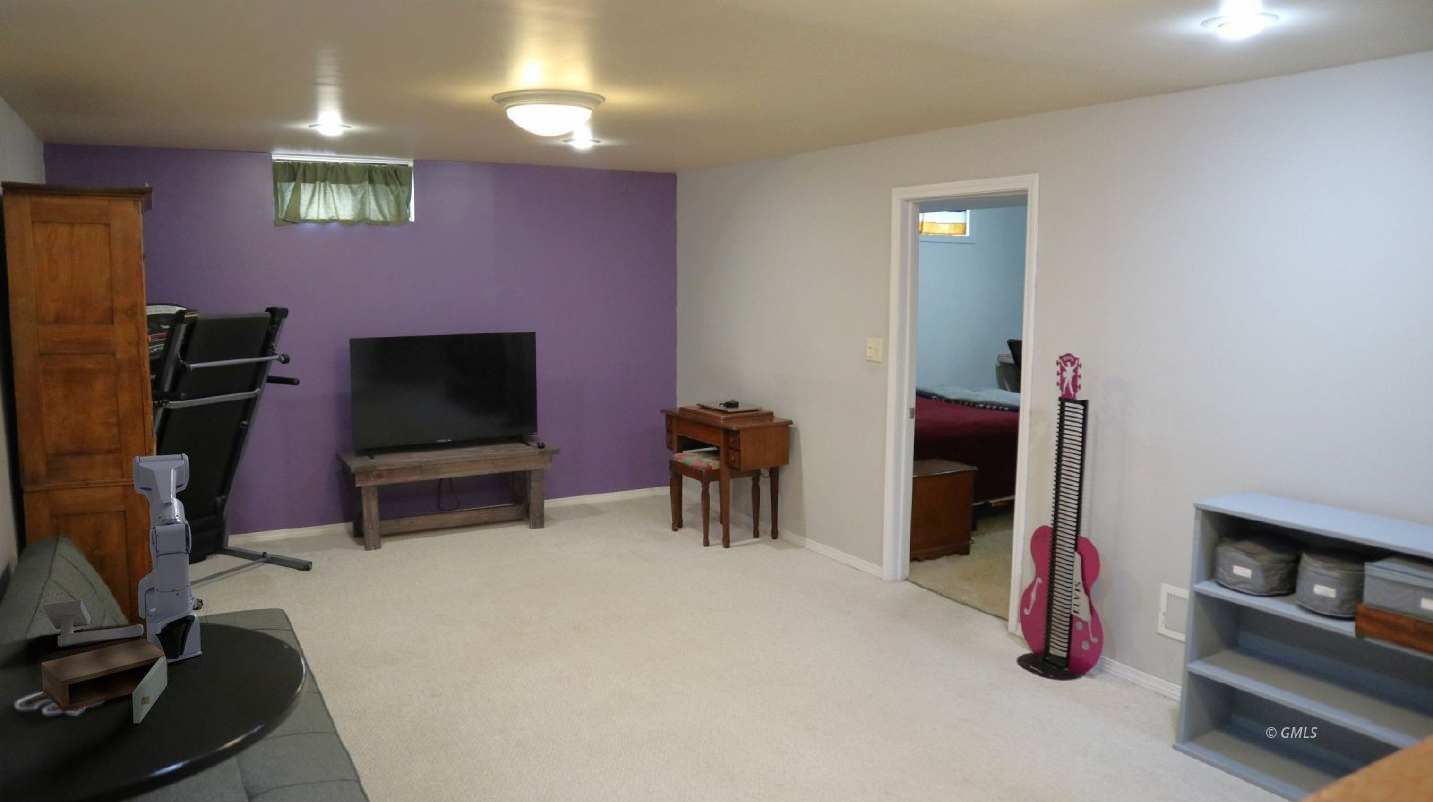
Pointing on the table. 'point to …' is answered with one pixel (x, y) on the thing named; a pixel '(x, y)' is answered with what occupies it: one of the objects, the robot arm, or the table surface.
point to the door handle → (82, 624)
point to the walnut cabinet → (98, 674)
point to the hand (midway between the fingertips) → (174, 656)
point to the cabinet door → (149, 689)
